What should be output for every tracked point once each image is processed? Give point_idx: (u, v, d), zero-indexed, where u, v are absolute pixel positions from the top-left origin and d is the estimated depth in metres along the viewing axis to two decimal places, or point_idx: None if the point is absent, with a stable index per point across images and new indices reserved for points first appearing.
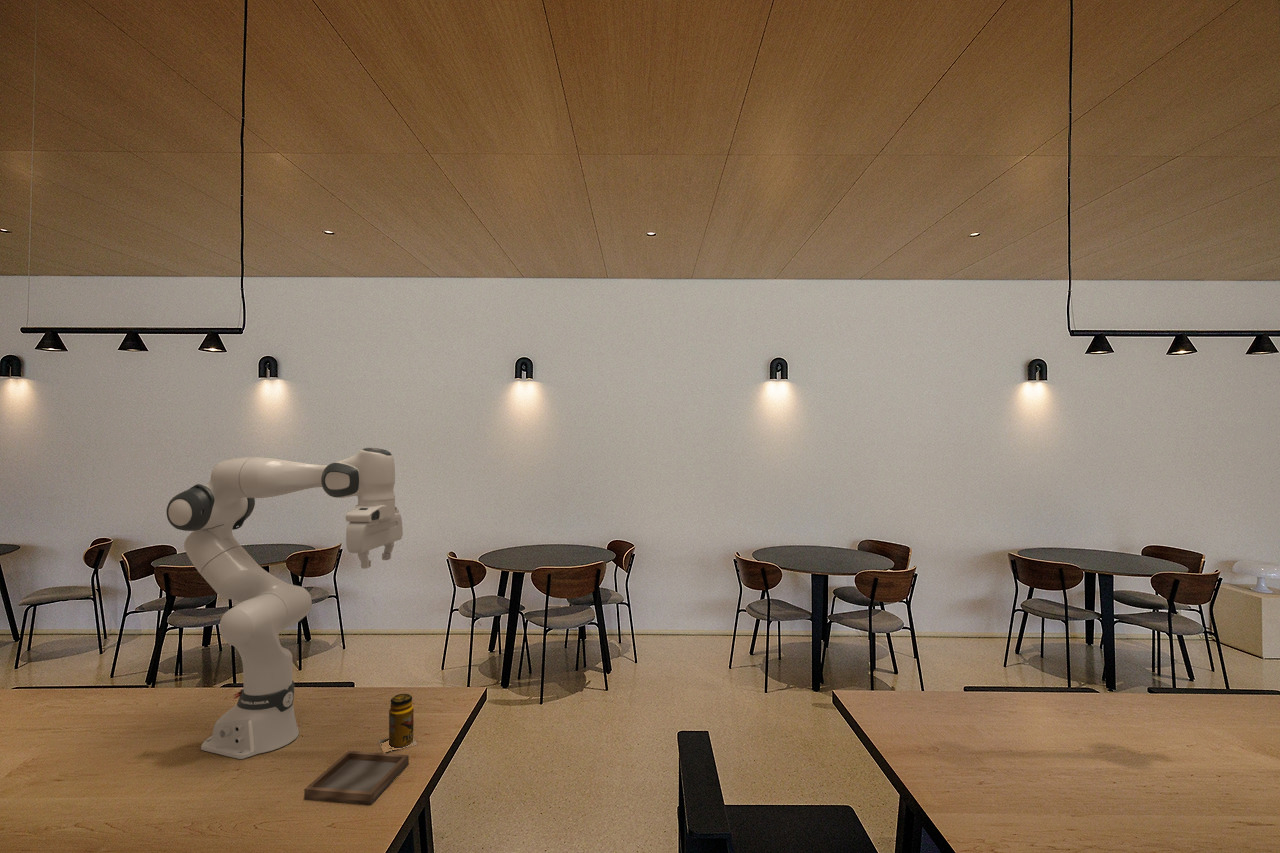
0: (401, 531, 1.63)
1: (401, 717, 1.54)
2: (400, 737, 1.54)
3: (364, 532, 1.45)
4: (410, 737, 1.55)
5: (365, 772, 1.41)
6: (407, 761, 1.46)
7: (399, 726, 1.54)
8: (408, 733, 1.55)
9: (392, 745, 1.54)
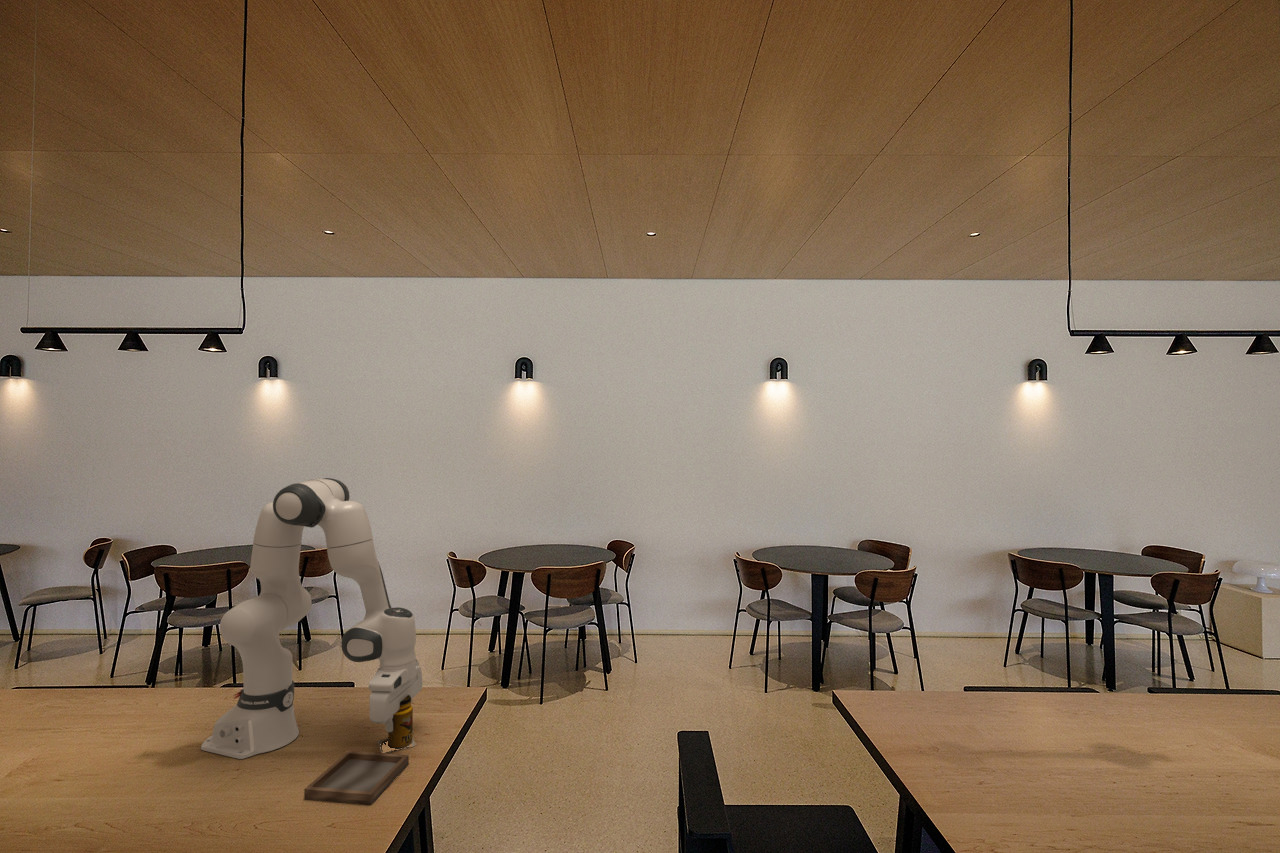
0: (421, 683, 1.65)
1: (400, 718, 1.53)
2: (399, 738, 1.53)
3: (387, 702, 1.47)
4: (409, 738, 1.55)
5: (365, 772, 1.41)
6: (407, 761, 1.46)
7: (398, 727, 1.53)
8: (407, 734, 1.55)
9: (391, 746, 1.54)
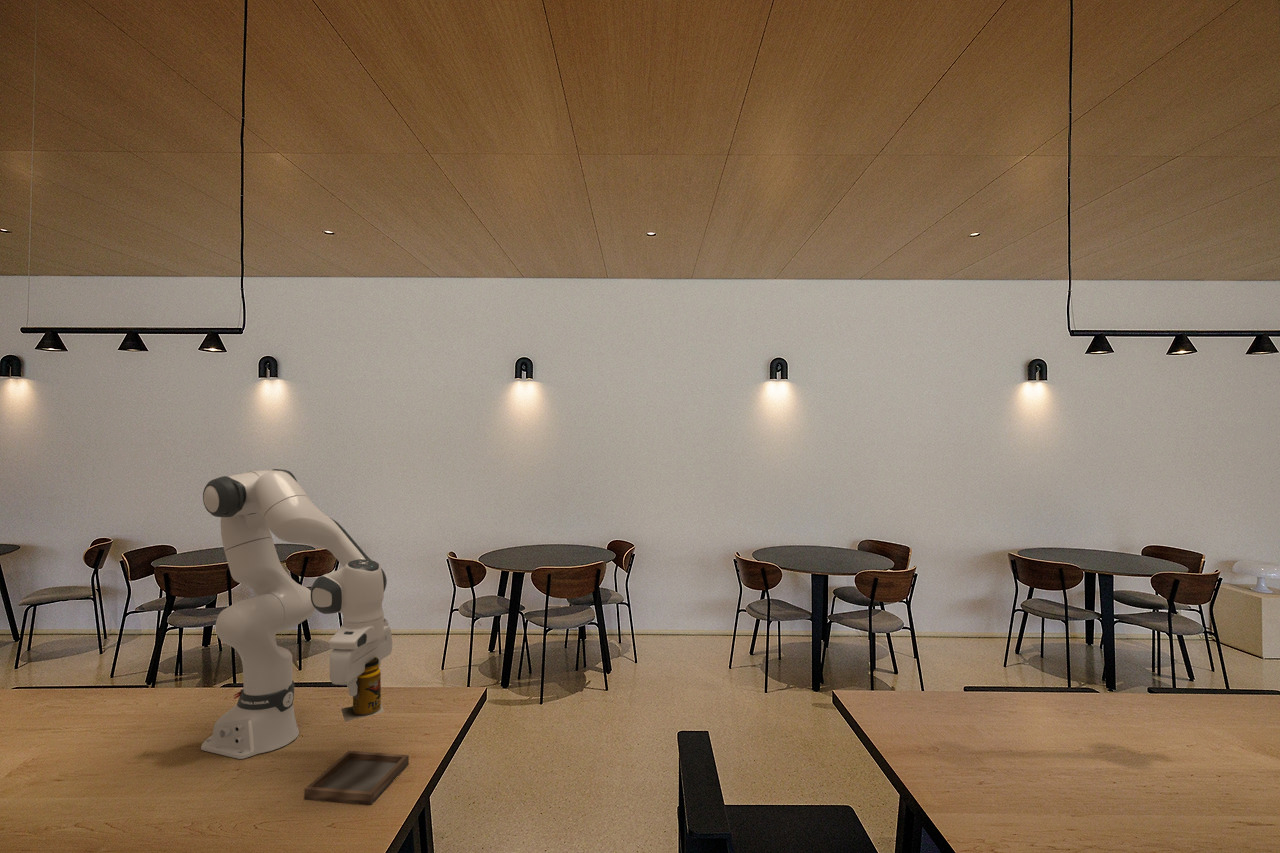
0: (390, 645, 1.50)
1: (366, 681, 1.38)
2: (365, 704, 1.38)
3: (349, 662, 1.32)
4: (376, 704, 1.40)
5: (365, 772, 1.41)
6: (407, 761, 1.46)
7: (363, 691, 1.38)
8: (374, 699, 1.39)
9: (356, 712, 1.38)
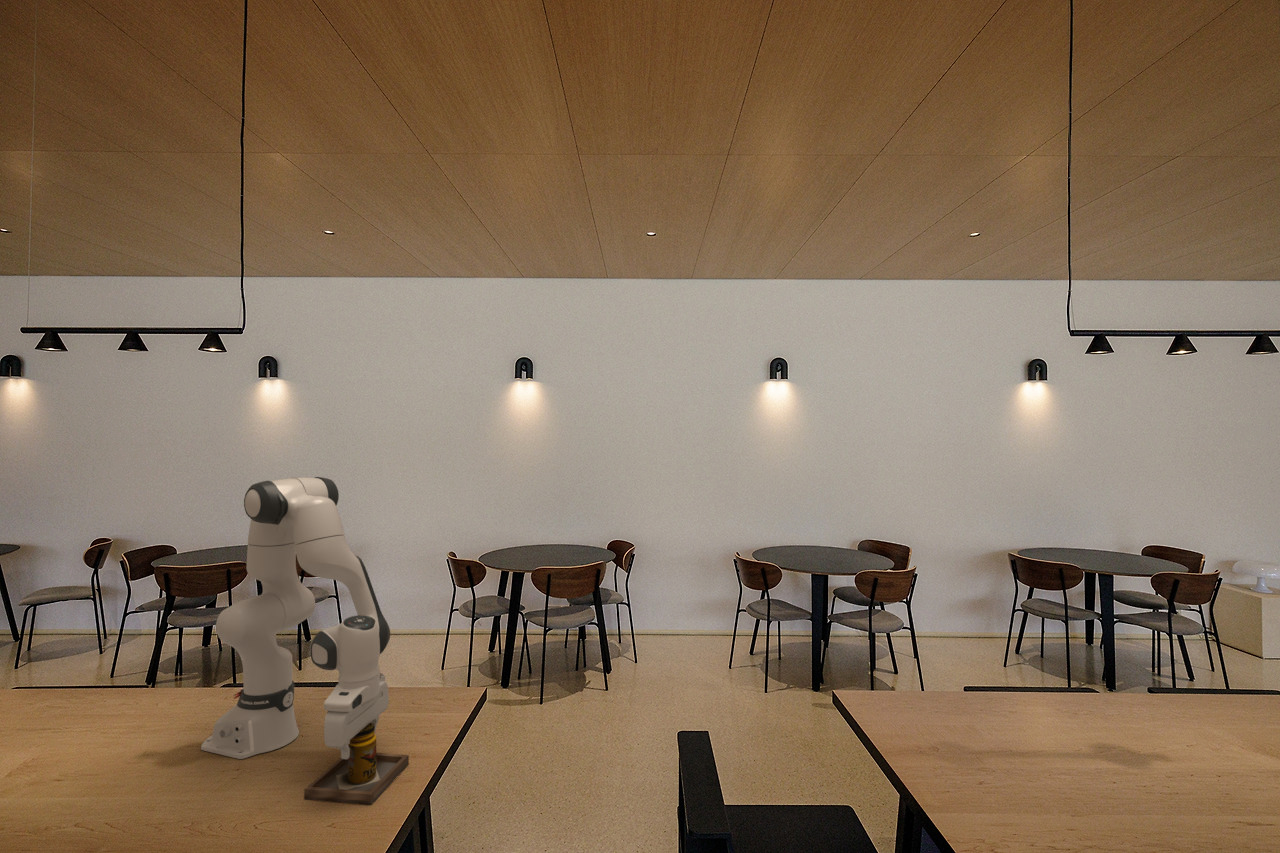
0: (387, 700, 1.48)
1: (361, 750, 1.36)
2: (360, 773, 1.36)
3: (344, 724, 1.30)
4: (371, 772, 1.38)
5: None
6: (407, 761, 1.46)
7: (359, 760, 1.36)
8: (370, 767, 1.38)
9: (351, 781, 1.37)
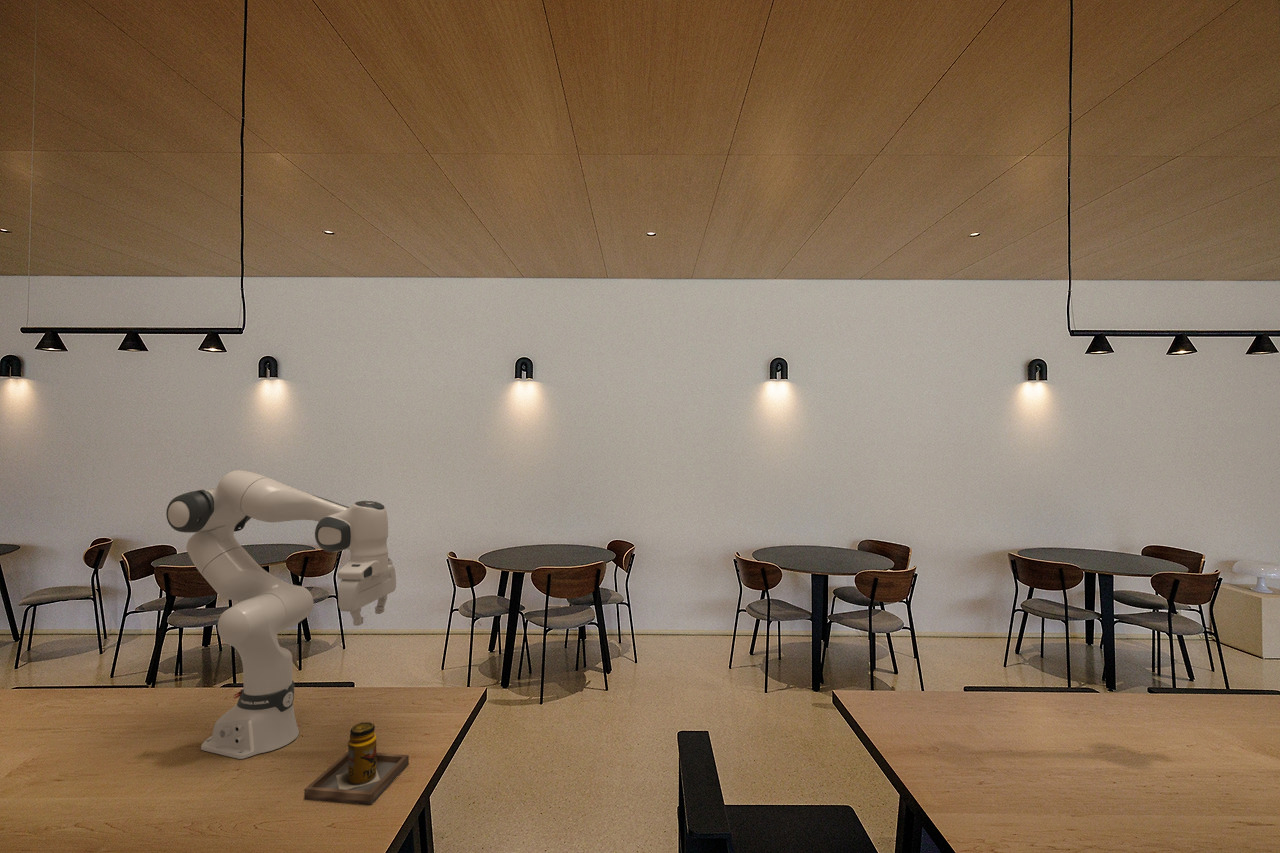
0: (394, 583, 1.61)
1: (361, 750, 1.36)
2: (360, 773, 1.36)
3: (356, 590, 1.43)
4: (371, 772, 1.38)
5: None
6: (407, 761, 1.46)
7: (359, 760, 1.36)
8: (370, 767, 1.38)
9: (351, 781, 1.37)
